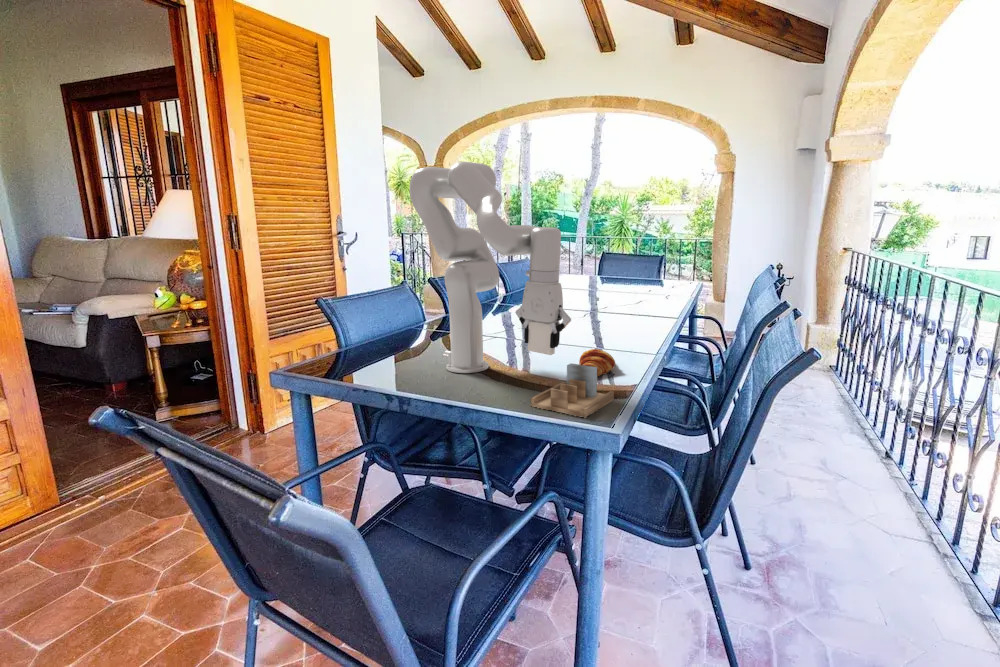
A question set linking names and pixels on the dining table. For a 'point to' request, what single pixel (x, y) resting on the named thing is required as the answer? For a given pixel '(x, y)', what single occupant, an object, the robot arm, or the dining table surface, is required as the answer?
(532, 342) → the low beige gift box
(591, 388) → the dish rack
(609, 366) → the croissant
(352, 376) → the dining table surface
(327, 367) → the dining table surface
